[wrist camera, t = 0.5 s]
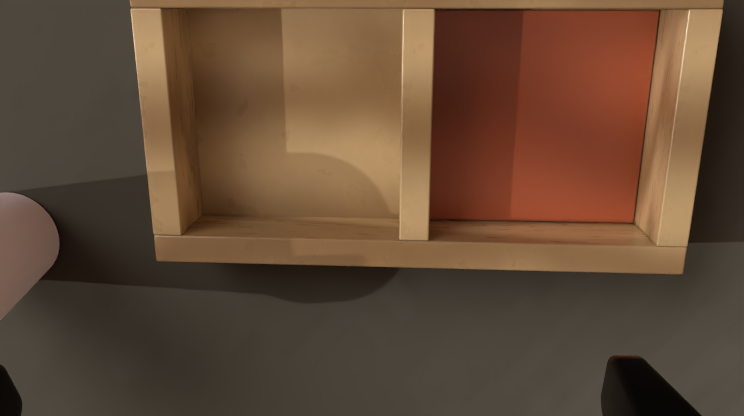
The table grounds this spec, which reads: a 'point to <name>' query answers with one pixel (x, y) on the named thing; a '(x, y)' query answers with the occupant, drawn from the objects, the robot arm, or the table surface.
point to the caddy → (425, 131)
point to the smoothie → (23, 247)
